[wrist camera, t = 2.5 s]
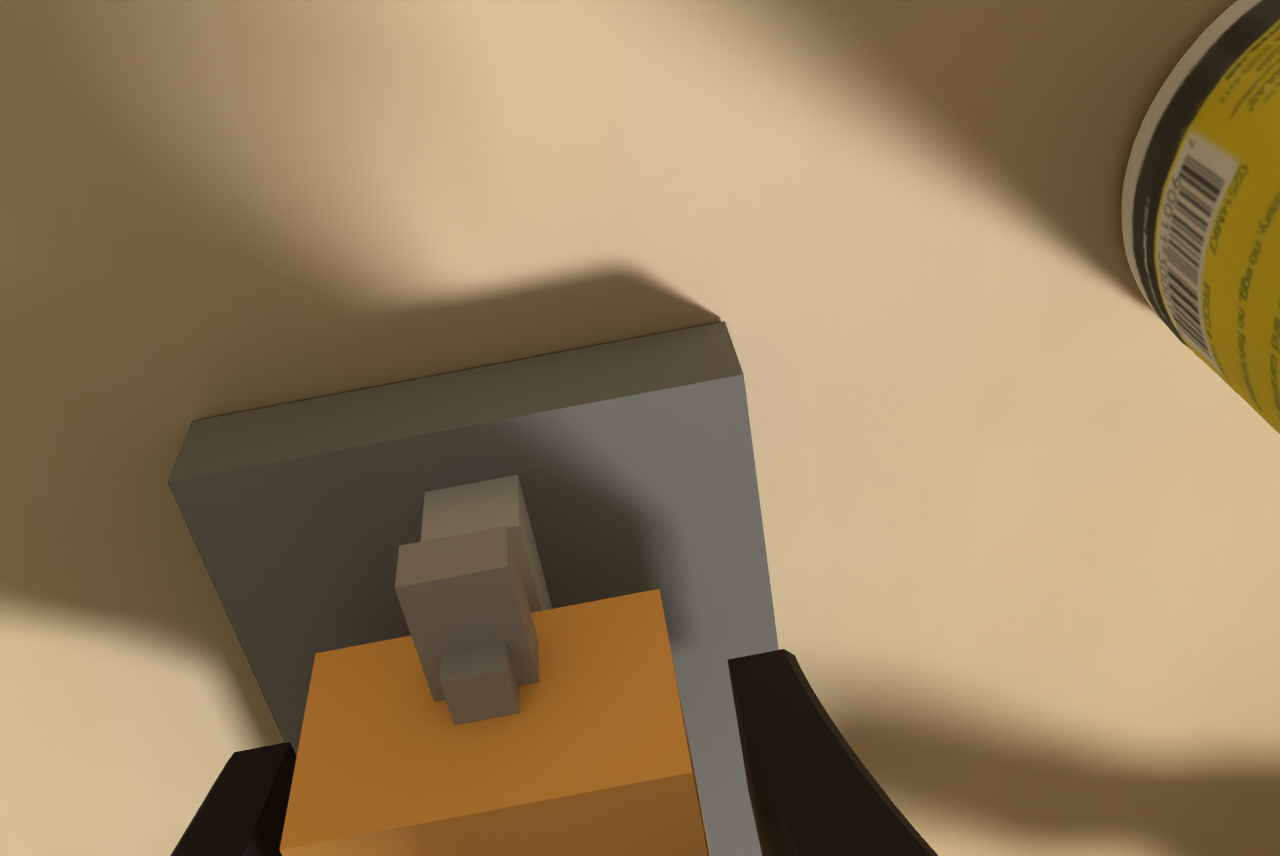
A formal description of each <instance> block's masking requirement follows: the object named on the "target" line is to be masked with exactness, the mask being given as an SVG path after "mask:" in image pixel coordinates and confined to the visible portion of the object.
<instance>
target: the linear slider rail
mask: <svg viewBox="0 0 1280 856" xmlns="http://www.w3.org/2000/svg"><path fill="white" fill-rule="evenodd" d="M168 484H169V486H170V488H171V491H172V493H173V495H174V497H175V499H176V502H177V504H178V506H179V508H180V510H181V513H182V515H183V517H184V519H185V522H186V524H187V526H188V528H189V530H190V533H191V535H192V537H193V539H194V542H195V544H196V546H197V548H198V550H199V553H200V555H201V557H202V559H203V562H204V564H205V566H206V568H207V570H208V573H209V575H210V577H211V579H212V582H213V584H214V586H215V588H216V590H217V593H218V595H219V597H220V599H221V601H222V604H223V606H224V608H225V610H226V613H227V615H228V617H229V619H230V621H231V624H232V626H233V628H234V630H235V633H236V635H237V637H238V639H239V641H240V644H241V646H242V648H243V650H244V653H245V655H246V657H247V659H248V661H249V664H250V666H251V668H252V670H253V673H254V675H255V677H256V679H257V681H258V684H259V686H260V688H261V690H262V693H263V695H264V697H265V699H266V701H267V704H268V706H269V708H270V710H271V712H272V715H273V717H274V719H275V721H276V724H277V726H278V728H279V730H280V732H281V735H282V737H283V739H284V741H285V743H287V742H291V745H292V747H293V749H294V751H295V754H296V756H297V752H298V747H299V741H300V736H301V730H302V725H303V719H304V714H305V708H306V703H307V697H308V692H309V687H310V681H311V676H312V670H313V665H314V659H315V654H316V653H320V652H326V651H331V650H336V649H342V648H347V647H352V646H358V645H363V644H368V643H374V642H379V641H384V640H390V639H395V638H400V637H406V636H411V634H410V631H409V628H408V625H407V622H406V619H405V616H404V613H403V611H402V608H401V605H400V602H399V599H398V596H397V593H396V590H395V580H396V571H397V562H398V552H399V546H401V545H406V544H412V543H417V542H422V541H428V540H433V539H438V538H444V537H449V536H454V535H459V534H465V533H470V532H475V531H481V530H486V529H491V528H497V527H502V526H507V527H508V531H509V534H510V538H511V542H512V545H513V549H514V553H515V556H516V560H517V564H518V568H519V571H520V575H521V579H522V582H523V586H524V590H525V593H526V597H527V601H528V604H529V608H530V612H531V613H533V612H539V611H544V610H549V609H555V608H560V607H565V606H570V605H576V604H581V603H586V602H592V601H597V600H602V599H608V598H613V597H618V596H624V595H629V594H634V593H640V592H645V591H650V590H656V589H660V595H661V600H662V605H663V610H664V615H665V621H666V626H667V631H668V636H669V641H670V647H671V652H672V657H673V662H674V667H675V673H676V678H677V683H678V688H679V693H680V699H681V704H682V709H683V714H684V719H685V725H686V730H687V735H688V740H689V745H690V751H691V756H692V761H693V766H694V771H695V777H696V782H697V787H698V792H699V797H700V803H701V808H702V813H703V818H704V823H705V829H706V834H707V839H708V844H709V850H710V855H711V856H762V852H761V848H760V843H759V838H758V834H757V829H756V824H755V820H754V815H753V810H752V805H751V801H750V796H749V791H748V786H747V779H746V773H745V767H744V761H743V754H742V748H741V742H740V736H739V729H738V723H737V717H736V710H735V704H734V698H733V692H732V685H731V679H730V673H729V666H728V659H733V658H739V657H744V656H749V655H755V654H760V653H765V652H770V651H776V650H778V642H777V634H776V626H775V619H774V611H773V603H772V595H771V587H770V579H769V572H768V564H767V556H766V548H765V540H764V532H763V525H762V517H761V509H760V501H759V493H758V485H757V478H756V470H755V462H754V454H753V446H752V438H751V431H750V423H749V415H748V407H747V399H746V391H745V383H744V376H743V372H742V369H741V366H740V363H739V361H738V358H737V355H736V352H735V349H734V346H733V344H732V341H731V338H730V335H729V332H728V329H727V327H726V324H725V321H724V322H719V323H714V324H708V325H703V326H698V327H692V328H687V329H682V330H676V331H671V332H666V333H660V334H655V335H650V336H644V337H639V338H634V339H628V340H623V341H618V342H612V343H607V344H602V345H596V346H591V347H586V348H580V349H575V350H570V351H564V352H559V353H554V354H548V355H543V356H538V357H532V358H527V359H522V360H516V361H511V362H506V363H500V364H495V365H490V366H484V367H479V368H474V369H468V370H463V371H458V372H452V373H447V374H442V375H436V376H431V377H426V378H420V379H415V380H410V381H404V382H399V383H394V384H388V385H383V386H378V387H372V388H367V389H362V390H356V391H351V392H346V393H340V394H335V395H330V396H324V397H319V398H314V399H308V400H303V401H298V402H292V403H287V404H282V405H276V406H271V407H266V408H260V409H255V410H250V411H244V412H239V413H234V414H228V415H223V416H218V417H212V418H207V419H202V420H196V421H192V424H191V426H190V429H189V431H188V434H187V436H186V438H185V441H184V443H183V446H182V448H181V451H180V453H179V456H178V458H177V461H176V463H175V466H174V468H173V471H172V473H171V476H170V478H169V481H168Z"/></svg>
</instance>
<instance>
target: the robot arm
mask: <svg viewBox="0 0 1280 856" xmlns="http://www.w3.org/2000/svg"><path fill="white" fill-rule="evenodd" d="M728 666H729V673H730V679H731V685H732V692H733V698H734V704H735V710H736V717H737V723H738V729H739V736H740V742H741V748H742V754H743V761H744V767H745V773H746V779H747V786H748V791H749V796H750V801H751V805H752V810H753V815H754V820H755V824H756V829H757V834H758V838H759V843H760V848H761V852H762V856H938V855H937V854H936V853H935V851H934V850H933V849H932V848H931V847H930V846H929V845H928V843H927V842H926V841H925V840H924V839H923V838H922V837H921V836H920V834H919V833H918V832H917V831H916V830H915V829H914V828H913V826H912V825H911V824H910V823H909V821H908V820H907V819H906V818H905V817H904V815H903V814H902V813H901V812H900V811H899V809H898V808H897V807H896V806H895V805H894V803H893V802H892V801H891V800H890V798H889V797H888V796H887V794H886V793H885V792H884V791H883V789H882V788H881V787H880V785H879V784H878V783H877V782H876V780H875V779H874V778H873V776H872V775H871V774H870V773H869V771H868V770H867V769H866V767H865V766H864V765H863V764H862V762H861V761H860V760H859V758H858V757H857V755H856V754H855V753H854V751H853V750H852V749H851V747H850V746H849V744H848V743H847V742H846V740H845V739H844V737H843V736H842V734H841V733H840V731H839V730H838V728H837V727H836V725H835V724H834V723H833V721H832V720H831V718H830V717H829V715H828V714H827V712H826V711H825V709H824V707H823V706H822V704H821V703H820V701H819V699H818V698H817V696H816V694H815V693H814V691H813V689H812V688H811V686H810V684H809V682H808V681H807V679H806V677H805V675H804V673H803V672H802V670H801V668H800V666H799V664H798V662H797V659H796V657H795V655H793V654H791V653H790V652H788V651H786V650H785V649H781V650H776V651H770V652H765V653H760V654H755V655H749V656H744V657H739V658H733V659H728ZM296 758H297V756H296V754H295V751H294V749H293V747H292V745H291V742H287V743H281V744H276V745H271V746H265V747H260V748H255V749H250V750H244V751H239V752H234V754H233V755H232V756H231V758H230V759H229V760H228V762H227V763H226V765H225V767H224V768H223V770H222V771H221V773H220V775H219V776H218V778H217V780H216V781H215V783H214V785H213V786H212V788H211V790H210V791H209V793H208V795H207V796H206V798H205V800H204V801H203V803H202V805H201V806H200V808H199V810H198V811H197V813H196V815H195V816H194V818H193V819H192V821H191V823H190V824H189V826H188V828H187V829H186V831H185V833H184V834H183V836H182V838H181V839H180V841H179V843H178V844H177V846H176V847H175V849H174V851H173V852H172V854H171V856H282V854H281V852H280V845H281V840H282V834H283V829H284V823H285V818H286V812H287V807H288V801H289V796H290V790H291V785H292V779H293V774H294V769H295V763H296Z"/></svg>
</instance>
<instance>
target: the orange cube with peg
mask: <svg viewBox="0 0 1280 856" xmlns="http://www.w3.org/2000/svg"><path fill="white" fill-rule="evenodd" d="M395 590H396V593H397V596H398V599H399V602H400V605H401V608H402V611H403V613H404V616H405V619H406V622H407V625H408V628H409V631H410V634H411V636H406V637H400V638H395V639H390V640H384V641H379V642H374V643H368V644H363V645H358V646H352V647H347V648H342V649H336V650H331V651H326V652H320V653H316V654H315V659H314V665H313V670H312V676H311V681H310V687H309V692H308V697H307V703H306V708H305V714H304V719H303V725H302V730H301V736H300V741H299V747H298V752H297V758H296V763H295V769H294V774H293V779H292V785H291V790H290V796H289V801H288V807H287V812H286V818H285V823H284V829H283V834H282V840H281V845H280V852H281V854H282V856H711V855H710V850H709V844H708V839H707V834H706V829H705V823H704V818H703V813H702V808H701V803H700V797H699V792H698V787H697V782H696V777H695V771H694V766H693V761H692V756H691V751H690V745H689V740H688V735H687V730H686V725H685V719H684V714H683V709H682V704H681V699H680V693H679V688H678V683H677V678H676V673H675V667H674V662H673V657H672V652H671V647H670V641H669V636H668V631H667V626H666V621H665V615H664V610H663V605H662V600H661V595H660V589H656V590H650V591H645V592H640V593H634V594H629V595H624V596H618V597H613V598H608V599H602V600H597V601H592V602H586V603H581V604H576V605H570V606H565V607H560V608H555V609H549V610H544V611H539V612H533V613H531V612H530V608H529V604H528V601H527V597H526V593H525V590H524V586H523V582H522V579H521V575H520V571H519V568H518V564H517V560H516V556H515V553H514V549H513V545H512V542H511V538H510V534H509V531H508V527H507V526H502V527H497V528H491V529H486V530H481V531H475V532H470V533H465V534H459V535H454V536H449V537H444V538H438V539H433V540H428V541H422V542H417V543H412V544H406V545H401V546H399V552H398V562H397V571H396V580H395Z"/></svg>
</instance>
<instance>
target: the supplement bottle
mask: <svg viewBox="0 0 1280 856" xmlns="http://www.w3.org/2000/svg"><path fill="white" fill-rule="evenodd" d="M1121 220H1122V233H1123V241H1124V247H1125V252H1126V256H1127V260H1128V263H1129V266H1130V268H1131V271H1132V273H1133V276H1134V278H1135V281H1136V283H1137V286H1138V287H1139V289H1140V291H1141V293H1142V294H1143V296H1144V298H1145V299H1146V301H1147V302H1148V304H1149V305H1150V306H1151V308H1152V309H1153V310H1154V312H1155V313H1156V314H1157V316H1158V317H1159V318H1160V319H1161V320H1162V321H1163V322H1164V323H1165V324H1166V325H1167V326H1168V327H1169V329H1170V330H1171V331H1172V332H1173V333H1174V334H1175V335H1176V337H1177V338H1178V339H1179V340H1180V341H1181V342H1182V343H1183V344H1185V345H1186V346H1187V347H1188V348H1190V349H1191V350H1192V351H1193V352H1194V353H1195V354H1196V355H1197V356H1198V357H1199V358H1200V359H1202V360H1203V361H1204V362H1205V363H1206V364H1207V365H1208V366H1209V367H1210V368H1211V369H1212V370H1214V371H1215V372H1216V373H1217V374H1218V375H1219V376H1220V377H1221V378H1222V379H1223V380H1224V381H1225V382H1226V383H1227V384H1228V385H1229V386H1230V387H1231V388H1232V389H1233V390H1234V391H1235V392H1236V393H1238V394H1239V395H1240V396H1241V397H1242V398H1243V399H1244V400H1245V401H1246V402H1247V403H1248V404H1249V405H1250V406H1251V407H1252V408H1253V409H1254V410H1255V411H1256V412H1257V413H1258V414H1259V415H1260V416H1261V417H1263V418H1264V419H1265V420H1266V421H1267V422H1268V423H1269V424H1270V425H1271V426H1272V427H1273V428H1274V429H1275V430H1276V431H1277V432H1278V433H1279V434H1280V0H1237V1H1236V2H1235V3H1233V4H1232V5H1231V6H1230V7H1229V8H1227V9H1226V10H1225V11H1224V12H1223V13H1222V14H1221V15H1220V16H1219V17H1218V18H1217V19H1216V20H1215V21H1214V22H1212V23H1211V24H1210V25H1209V26H1208V27H1207V28H1206V29H1205V30H1204V31H1203V33H1202V34H1201V35H1200V36H1199V37H1198V39H1197V40H1196V41H1195V42H1194V43H1193V45H1192V46H1191V47H1190V48H1189V49H1188V51H1187V52H1186V53H1185V54H1184V56H1183V57H1182V58H1181V59H1180V61H1179V62H1178V63H1177V65H1176V66H1175V68H1174V69H1173V71H1172V72H1171V74H1170V75H1169V77H1168V78H1167V79H1166V81H1165V82H1164V84H1163V85H1162V87H1161V88H1160V90H1159V92H1158V93H1157V95H1156V97H1155V99H1154V100H1153V102H1152V104H1151V106H1150V108H1149V110H1148V111H1147V113H1146V115H1145V117H1144V119H1143V122H1142V124H1141V127H1140V129H1139V131H1138V134H1137V136H1136V139H1135V141H1134V144H1133V147H1132V150H1131V154H1130V157H1129V161H1128V165H1127V169H1126V174H1125V178H1124V185H1123V192H1122V213H1121Z"/></svg>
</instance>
